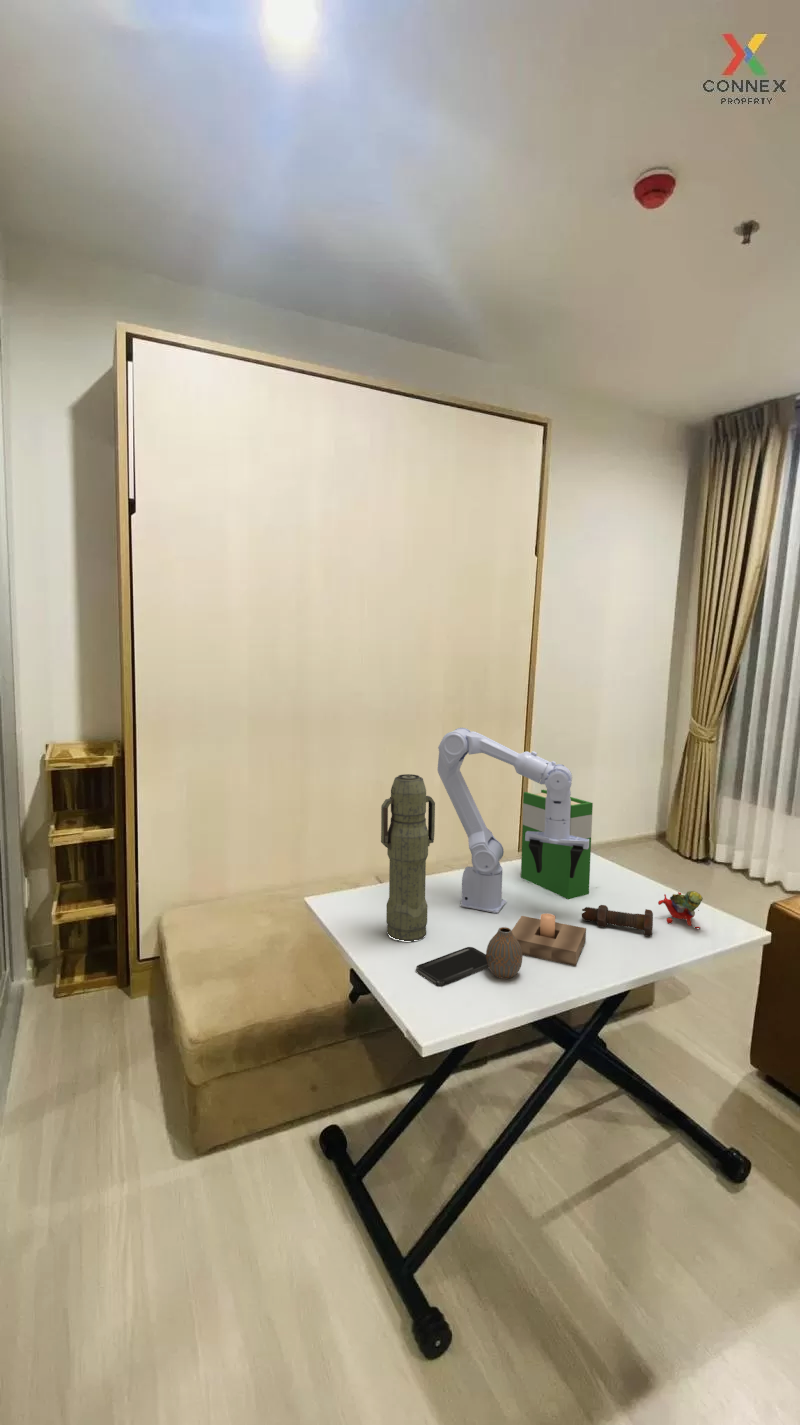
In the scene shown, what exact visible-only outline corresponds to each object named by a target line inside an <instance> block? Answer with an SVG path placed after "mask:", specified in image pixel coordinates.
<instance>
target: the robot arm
mask: <svg viewBox="0 0 800 1425" xmlns="http://www.w3.org/2000/svg"><path fill="white" fill-rule="evenodd" d="M437 749H438V761H437V773H438V776H439V778H440V779H441V782H442V784H443V786H444V789H445V791H446V793H447V795H448V797H449V799H450V801H451V804H452V806H453V808H454V810H455V812H456V814H457V816H458V818H459V821H460V823H461V825H462V827H463V829H464V831H465V834H466V837H467V839H468V840H467V841H468V849H469V851H470V855H471V865H472V866H466V867H465V868H464V870H463V873H462V877H461V903H460V904H459V905H460V907H463V908H468V909H472V910H478V911H483V912H489V913H494V914H499V912H501V910H502V909H503V907H505V904H506V903H507V900H506V899H503V898H502V896H503V867H502V865H501V863H500V860H502V859H503V856H504V852H505V851H504V846H503V845H502V843H501V842H500V841H499V840H498V839H497V838H495V836H494V834H493V832H492V831H491V830H490V829H489V828H488V827H487V826H486V823H485V821H484V819H483V816H482V814H481V812H480V811H479V808H478V806H477V804H476V802H475V800H474V797H473V795H472V793H471V791H470V789H469V786H468V785H467V782H466V780H465V779H464V776H463V774H462V772H461V767H462V765H463V762H464V760H465V757H466V756H467V755H476V754H485V755H487V756H489V757H491V758H494V759H497V760H499V761H501V762H504V763H506V764H508V765H511V766H513V767H514V770H515V772H516V774H518V775H521V777H522V776H523V777H524V778H526V779H529V780H531V781H533V782H535V783H537V784H540V785H544V786H545V788H546V790H547V797H546V804H545V832H534V831H527V832H526V833H525V841H530V842H529V849H530V850H531V852H532V855H533V857H534V860H535V864H536V869H537V873H540V872H541V870H542V848H543V842H544V843H551V844H559V845H566V846H573V848H572V849H571V850H570V854H571V867H570V878H573V877H574V875H575V869H576V866H577V863H578V860H579V858H580V856H581V854H582V852H583V850H584V849H588V848H589V839H585V838H580V837H576V836H572V835H570V810H571V799H570V797H572V796H571V795H572V793H571V792H572V791H571V787H572V784H573V783H572V781H573V775H572V773H571V771H570V769H569V768H568V767H567V766H565V765H564V764H561V763H559V764H558V763H557V762H556V761H555V760H551V761H549V760H548V759H545V758H543V757H541V756H538V752H536V751H534V750H532V751H531V752H530V751H524V752H520V753H519V752H517V751H515V750H513V749H511V748H509V747H507V746H506V745H504V744H502V743H500V742H497V741H495V740H494V739H492V738H490V737H488V736H485V734H484V735H483V734H482V733H479V732H477V731H474V730H470V729H468V728H466V727H458V728H455V729H454V730H453V731H450V732H447V733H446V734H444V736H443V737H442V739H441V741H440V742H439V745H438V747H437Z"/></svg>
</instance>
